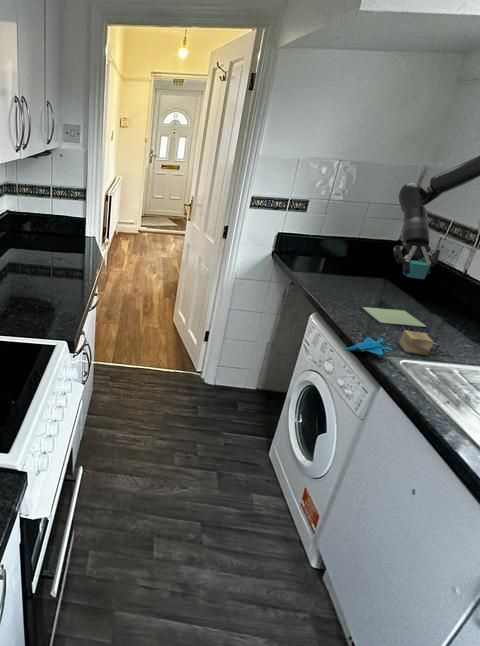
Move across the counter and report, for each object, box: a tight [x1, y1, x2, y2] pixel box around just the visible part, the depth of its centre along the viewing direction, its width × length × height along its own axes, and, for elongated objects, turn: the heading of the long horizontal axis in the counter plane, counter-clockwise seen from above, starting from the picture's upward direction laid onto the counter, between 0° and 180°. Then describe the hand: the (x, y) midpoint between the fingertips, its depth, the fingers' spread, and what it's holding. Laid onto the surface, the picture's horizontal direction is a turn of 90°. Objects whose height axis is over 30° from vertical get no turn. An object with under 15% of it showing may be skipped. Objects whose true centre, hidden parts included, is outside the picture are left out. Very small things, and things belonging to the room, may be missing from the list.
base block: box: [398, 329, 434, 356], centre depth 132 cm, size 6×6×5 cm
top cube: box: [402, 259, 430, 280], centre depth 144 cm, size 5×5×5 cm
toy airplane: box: [343, 337, 394, 360], centre depth 127 cm, size 12×10×4 cm
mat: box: [361, 306, 428, 328], centre depth 156 cm, size 16×14×1 cm
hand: (416, 274), depth 142 cm, fingers closed on top cube, 5 cm apart
